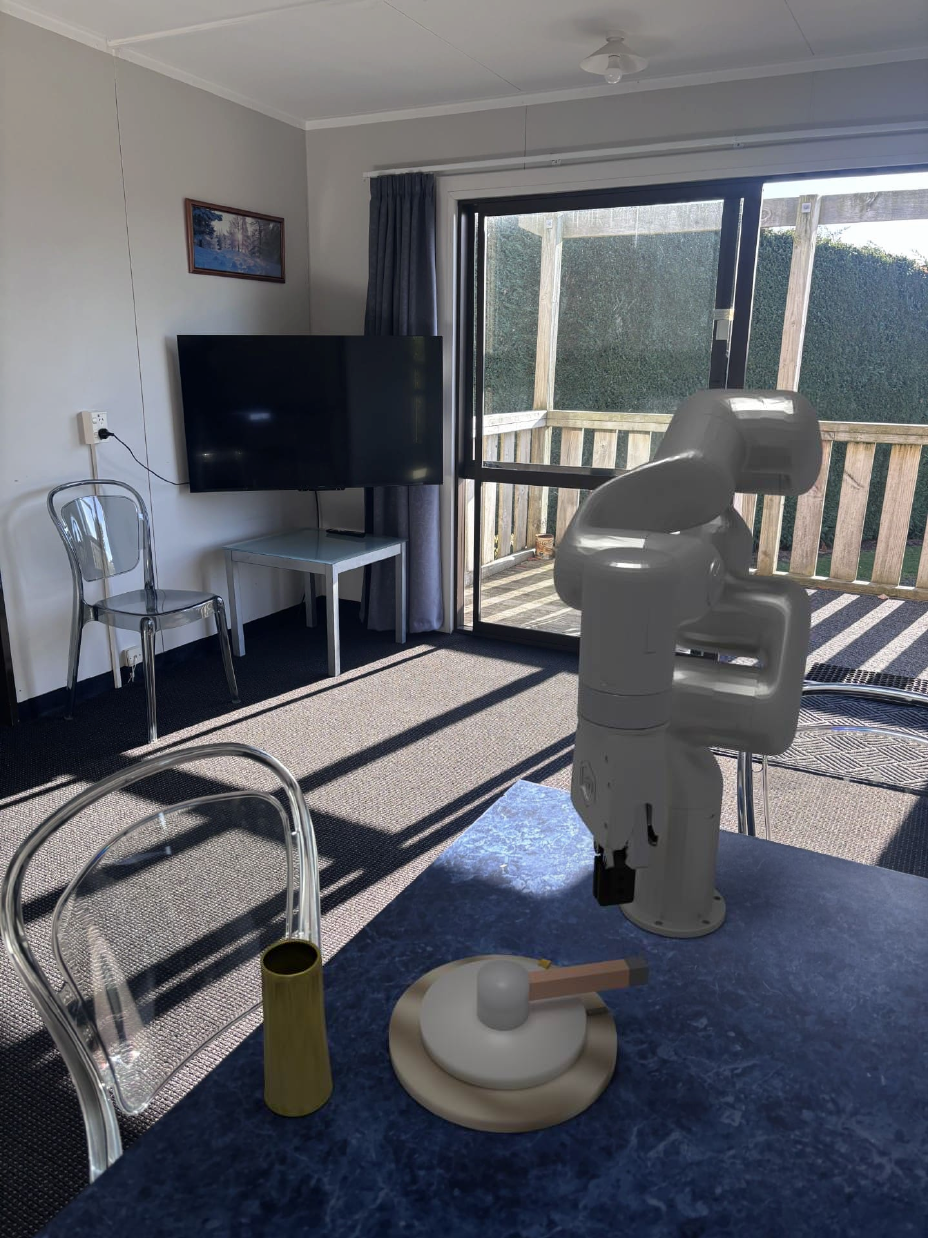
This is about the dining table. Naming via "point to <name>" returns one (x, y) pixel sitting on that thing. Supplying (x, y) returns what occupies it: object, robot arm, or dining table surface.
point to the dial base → (500, 1105)
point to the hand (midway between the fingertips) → (612, 899)
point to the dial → (515, 1018)
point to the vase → (294, 1028)
